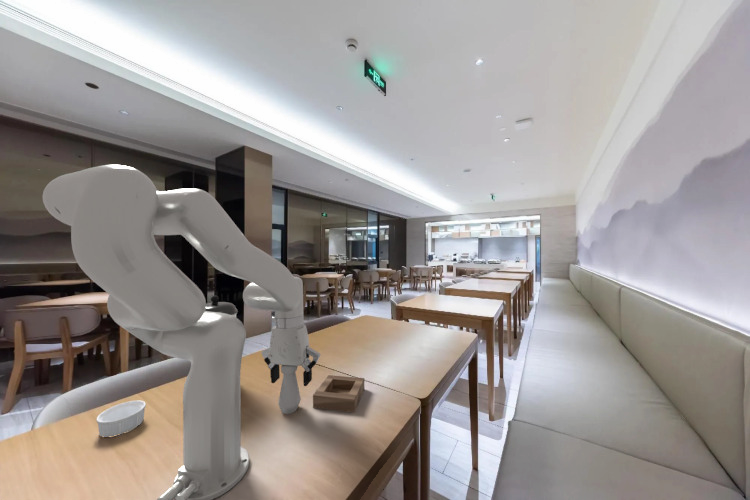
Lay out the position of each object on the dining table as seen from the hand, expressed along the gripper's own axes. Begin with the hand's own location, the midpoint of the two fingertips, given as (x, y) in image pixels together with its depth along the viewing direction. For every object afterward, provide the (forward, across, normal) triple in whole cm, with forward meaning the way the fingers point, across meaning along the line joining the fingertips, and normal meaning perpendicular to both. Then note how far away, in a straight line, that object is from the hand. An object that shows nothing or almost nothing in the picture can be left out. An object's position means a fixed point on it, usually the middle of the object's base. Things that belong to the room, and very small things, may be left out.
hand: (291, 382), depth 72 cm
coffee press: (+7, -28, +4) cm, 29 cm away
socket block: (+7, +12, +7) cm, 16 cm away
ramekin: (+7, -38, -15) cm, 42 cm away
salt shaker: (+7, 0, -1) cm, 7 cm away
